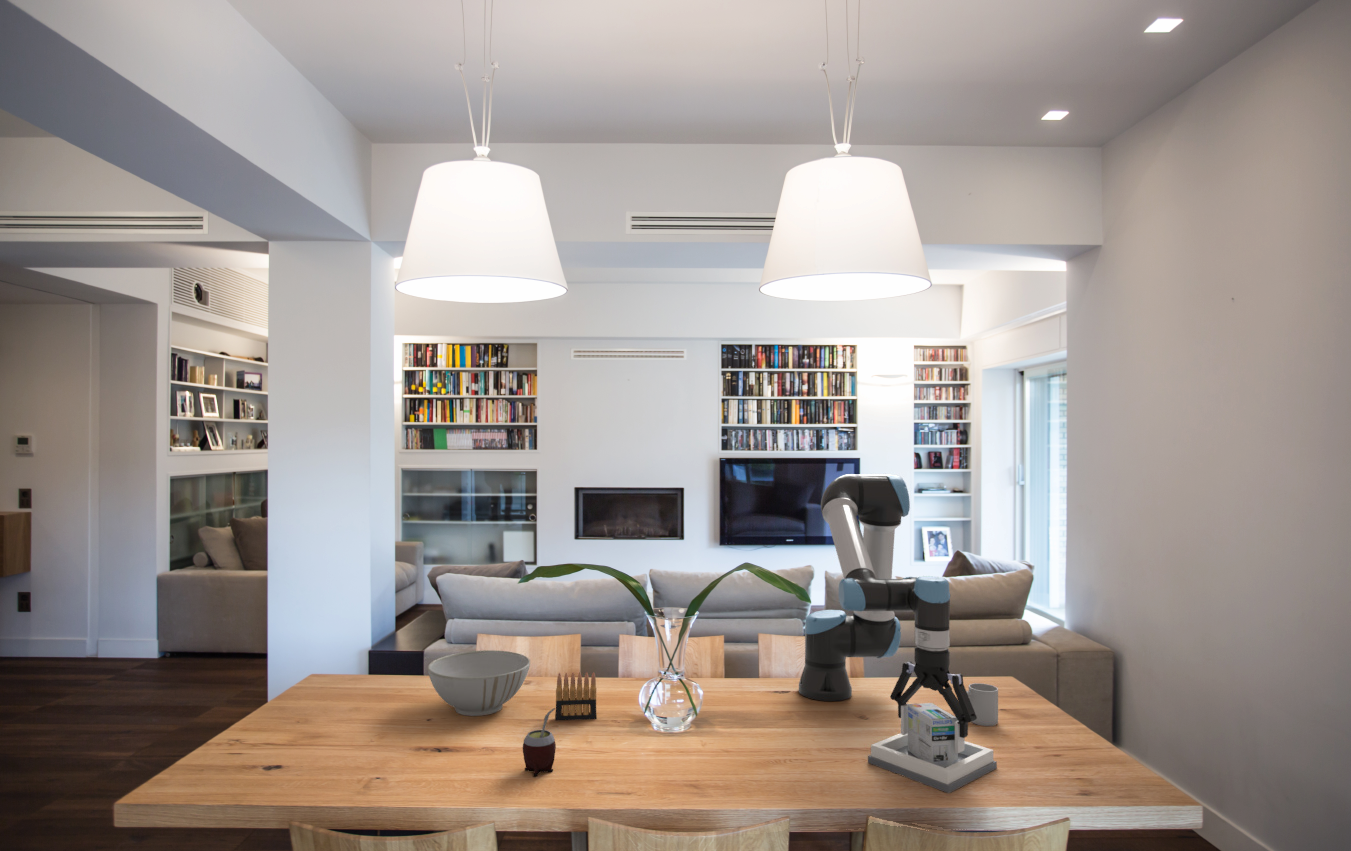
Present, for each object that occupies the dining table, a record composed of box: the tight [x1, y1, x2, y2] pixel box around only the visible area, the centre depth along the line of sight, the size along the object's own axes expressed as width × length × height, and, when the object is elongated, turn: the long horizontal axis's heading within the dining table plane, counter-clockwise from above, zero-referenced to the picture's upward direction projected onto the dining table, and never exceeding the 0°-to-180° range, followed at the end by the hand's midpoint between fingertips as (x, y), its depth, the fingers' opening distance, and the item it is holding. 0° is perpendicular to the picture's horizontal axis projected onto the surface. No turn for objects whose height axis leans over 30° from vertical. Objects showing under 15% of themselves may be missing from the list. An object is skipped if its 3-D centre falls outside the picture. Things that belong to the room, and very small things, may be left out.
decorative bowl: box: [427, 649, 531, 717], centre depth 209 cm, size 27×27×12 cm
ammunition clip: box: [554, 671, 598, 722], centre depth 202 cm, size 11×2×12 cm, turn 98°
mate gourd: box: [522, 707, 557, 778], centre depth 169 cm, size 8×8×15 cm
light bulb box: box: [908, 702, 958, 767], centre depth 175 cm, size 11×7×11 cm, turn 13°
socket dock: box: [867, 732, 998, 794], centre depth 174 cm, size 20×20×4 cm
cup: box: [966, 682, 999, 727], centre depth 203 cm, size 7×10×9 cm
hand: (931, 742), depth 175 cm, fingers open, 13 cm apart
